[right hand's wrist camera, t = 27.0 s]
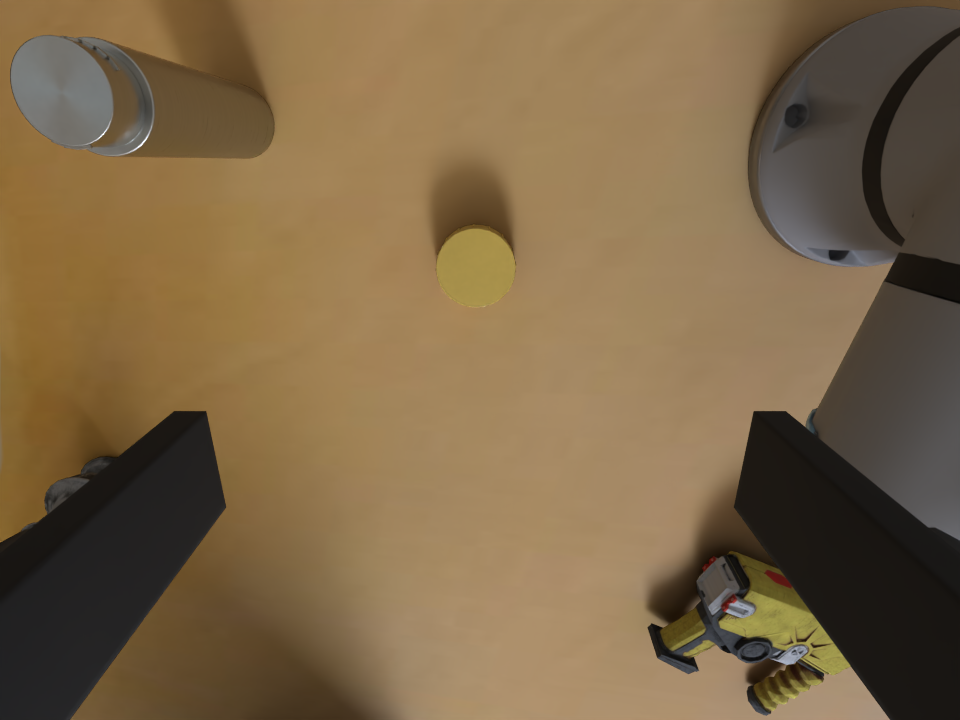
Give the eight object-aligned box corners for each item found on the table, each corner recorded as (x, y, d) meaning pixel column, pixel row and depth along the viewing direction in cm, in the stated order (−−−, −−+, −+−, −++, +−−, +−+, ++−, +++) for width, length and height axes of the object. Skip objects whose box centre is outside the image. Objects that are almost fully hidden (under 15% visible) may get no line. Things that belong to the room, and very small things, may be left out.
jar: (197, 88, 34) (-22, 31, 19) (265, 80, 33) (97, 16, 19) (216, 162, 35) (29, 162, 20) (281, 154, 35) (139, 149, 20)
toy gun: (842, 753, 51) (965, 668, 45) (637, 689, 47) (745, 584, 41) (814, 704, 56) (924, 620, 50) (624, 640, 51) (720, 538, 45)
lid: (528, 270, 38) (532, 276, 36) (469, 314, 39) (468, 323, 37) (483, 207, 36) (483, 210, 34) (422, 255, 37) (419, 261, 35)
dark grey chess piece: (75, 502, 45) (-61, 616, 33) (79, 445, 43) (-64, 546, 31) (145, 520, 45) (35, 638, 34) (152, 464, 43) (38, 570, 32)
